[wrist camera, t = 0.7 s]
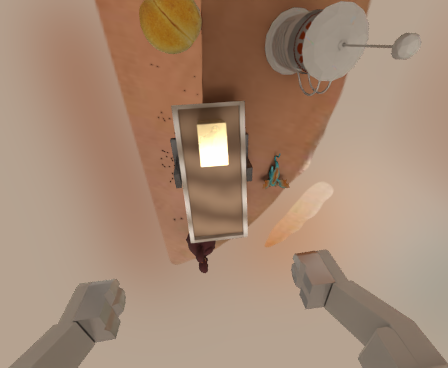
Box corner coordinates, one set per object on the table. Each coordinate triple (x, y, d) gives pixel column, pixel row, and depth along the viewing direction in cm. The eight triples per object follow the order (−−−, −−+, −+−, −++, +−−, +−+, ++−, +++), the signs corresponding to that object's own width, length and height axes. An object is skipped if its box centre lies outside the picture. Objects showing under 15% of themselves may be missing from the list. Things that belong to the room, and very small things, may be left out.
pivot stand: (170, 138, 44) (166, 157, 37) (247, 132, 45) (257, 150, 38) (178, 179, 50) (175, 202, 42) (246, 172, 51) (254, 194, 44)
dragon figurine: (257, 154, 52) (257, 186, 53) (265, 153, 45) (265, 190, 46) (283, 153, 53) (283, 185, 54) (295, 152, 45) (294, 189, 46)
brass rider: (197, 120, 35) (196, 124, 29) (221, 118, 36) (226, 122, 29) (201, 155, 38) (201, 167, 31) (223, 153, 38) (228, 164, 31)
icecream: (216, 224, 59) (222, 273, 47) (190, 230, 59) (189, 280, 47) (212, 206, 55) (217, 253, 43) (184, 211, 55) (180, 260, 43)
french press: (323, 1, 34) (516, -58, 14) (316, 79, 41) (440, 119, 20) (263, 13, 34) (366, -29, 14) (266, 89, 41) (339, 139, 20)
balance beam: (173, 105, 36) (171, 105, 33) (240, 101, 37) (244, 101, 34) (191, 233, 46) (190, 243, 43) (244, 227, 47) (247, 236, 44)
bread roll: (131, 21, 33) (124, 17, 29) (170, -30, 30) (167, -41, 27) (172, 67, 36) (171, 68, 33) (210, 24, 34) (212, 20, 31)
